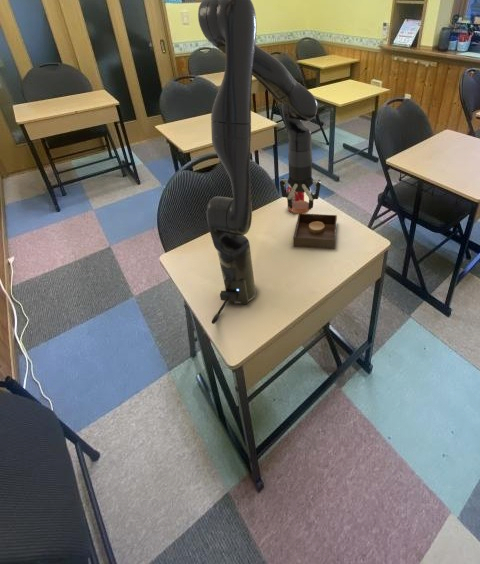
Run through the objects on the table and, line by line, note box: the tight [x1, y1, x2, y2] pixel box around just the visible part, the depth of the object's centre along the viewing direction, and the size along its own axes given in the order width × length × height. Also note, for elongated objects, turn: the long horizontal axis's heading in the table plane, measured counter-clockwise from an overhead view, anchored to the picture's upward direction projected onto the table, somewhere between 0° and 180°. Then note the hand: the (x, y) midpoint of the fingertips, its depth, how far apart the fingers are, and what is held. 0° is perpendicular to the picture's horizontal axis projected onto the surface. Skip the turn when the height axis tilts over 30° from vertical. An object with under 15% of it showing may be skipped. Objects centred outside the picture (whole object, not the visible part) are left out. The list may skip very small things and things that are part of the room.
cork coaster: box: [309, 221, 325, 234], centre depth 137 cm, size 6×6×2 cm
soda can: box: [286, 183, 305, 214], centre depth 145 cm, size 7×7×12 cm
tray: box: [292, 213, 338, 250], centre depth 134 cm, size 17×15×4 cm
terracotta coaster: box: [292, 200, 310, 215], centre depth 122 cm, size 6×6×2 cm
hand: (300, 208), depth 123 cm, fingers closed on terracotta coaster, 6 cm apart
